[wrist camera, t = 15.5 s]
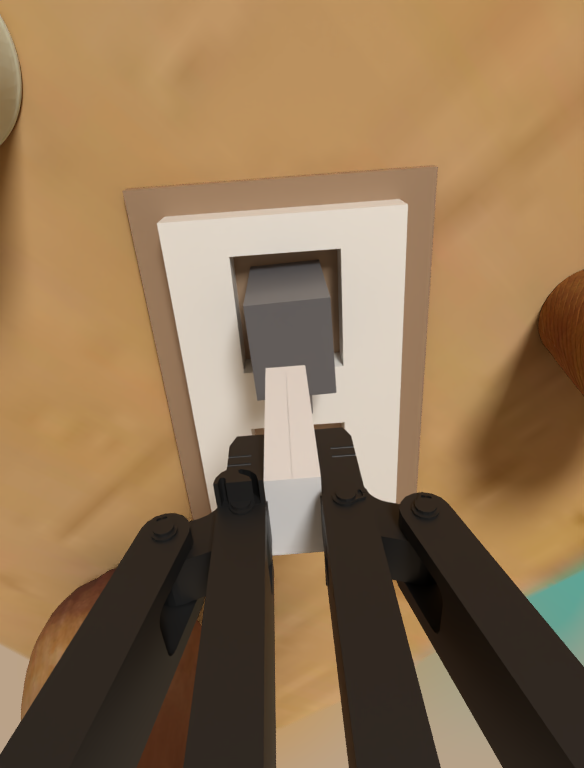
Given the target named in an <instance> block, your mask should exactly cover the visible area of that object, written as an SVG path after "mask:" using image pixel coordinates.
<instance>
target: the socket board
mask: <svg viewBox="0 0 584 768" xmlns="http://www.w3.org/2000/svg"><path fill="white" fill-rule="evenodd" d="M437 170H438V167H437V166H434V165H433V166H420V167H407V168H394V169H381V170H367V171H354V172H341V173H328V174H315V175H302V176H288V177H275V178H262V179H249V180H236V181H222V182H209V183H196V184H183V185H170V186H156V187H143V188H130V189H125V190H123V195H124V200H125V205H126V209H127V214H128V219H129V223H130V228H131V233H132V237H133V242H134V247H135V251H136V256H137V261H138V265H139V270H140V275H141V279H142V284H143V289H144V293H145V298H146V303H147V307H148V312H149V317H150V321H151V326H152V330H153V335H154V340H155V344H156V349H157V354H158V358H159V363H160V368H161V372H162V377H163V382H164V386H165V391H166V396H167V400H168V405H169V410H170V414H171V419H172V424H173V428H174V433H175V438H176V442H177V447H178V452H179V456H180V461H181V466H182V470H183V475H184V480H185V484H186V489H187V493H188V498H189V503H190V507H191V512H192V517H193V520H196V519H199V518H202V517H204V516H207V515H209V514H210V513H212V512H213V511H214V510H216V509H217V504H216V498H215V493H214V487H213V483H214V480H215V478H216V477H217V476H218V475H219V474H220V473H221V472H223V471H225V470H227V463H228V454H229V446H230V445H231V444H232V442H233V441H234V440H235V438H236V437H237V436H249V435H262V434H264V429H265V400H259V401H257V395H256V388H255V382H254V375H253V369H252V362H251V355H250V349H249V342H248V336H247V329H246V322H245V316H244V309H243V304H244V299H245V293H246V288H247V282H248V277H249V272H250V267H252V266H262V265H271V264H281V263H290V262H300V261H309V260H319V262H320V265H321V268H322V271H323V275H324V278H325V281H326V285H327V288H328V291H329V294H330V299H331V315H332V331H333V346H334V362H335V377H336V393H330V394H320V395H310V403H311V410H312V418H313V425H314V429H326V428H339V427H343V428H344V429H345V430H346V431H347V432H348V433H349V434H350V435H351V437H352V441H353V445H354V449H355V453H356V457H357V461H358V465H359V469H360V473H361V477H362V481H363V485H364V487H365V488H366V489H367V491H368V492H369V494H371V495H372V496H373V497H375V498H377V499H380V500H382V501H386V502H391V503H397V504H400V502H401V501H402V500H403V499H404V498H405V497H406V496H408V495H410V494H413V493H417V478H418V462H419V447H420V432H421V416H422V401H423V385H424V370H425V355H426V339H427V324H428V309H429V293H430V278H431V263H432V247H433V232H434V217H435V201H436V186H437Z"/></svg>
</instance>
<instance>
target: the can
mask: <svg viewBox="0 0 584 768" xmlns="http://www.w3.org/2000/svg"><path fill="white" fill-rule="evenodd" d="M21 97H22V78H21V69H20V64H19V60H18V55H17V52H16V48H15V45H14V43H13V40H12V37H11V35H10V33H9V31H8V28H7V26H6V24H5V22H4V20H3V19H2V17H1V15H0V145H1V144H2V143H3V142H4V141H5V140H6V138H7V137H8V136H9V134H10V132H11V131H12V129H13V127H14V125H15V123H16V120H17V117H18V114H19V110H20V105H21Z"/></svg>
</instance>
